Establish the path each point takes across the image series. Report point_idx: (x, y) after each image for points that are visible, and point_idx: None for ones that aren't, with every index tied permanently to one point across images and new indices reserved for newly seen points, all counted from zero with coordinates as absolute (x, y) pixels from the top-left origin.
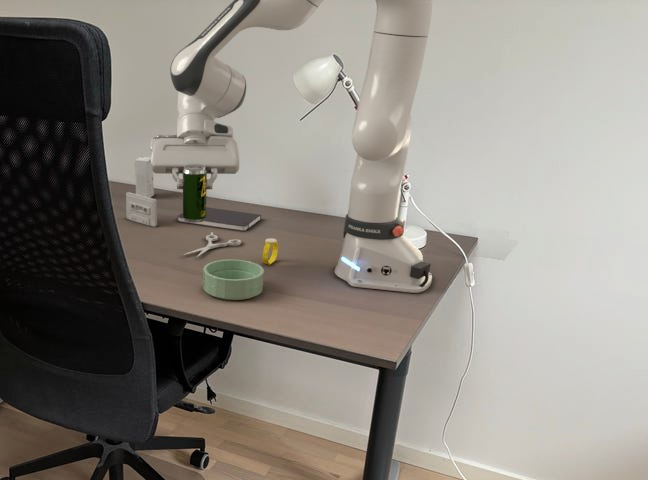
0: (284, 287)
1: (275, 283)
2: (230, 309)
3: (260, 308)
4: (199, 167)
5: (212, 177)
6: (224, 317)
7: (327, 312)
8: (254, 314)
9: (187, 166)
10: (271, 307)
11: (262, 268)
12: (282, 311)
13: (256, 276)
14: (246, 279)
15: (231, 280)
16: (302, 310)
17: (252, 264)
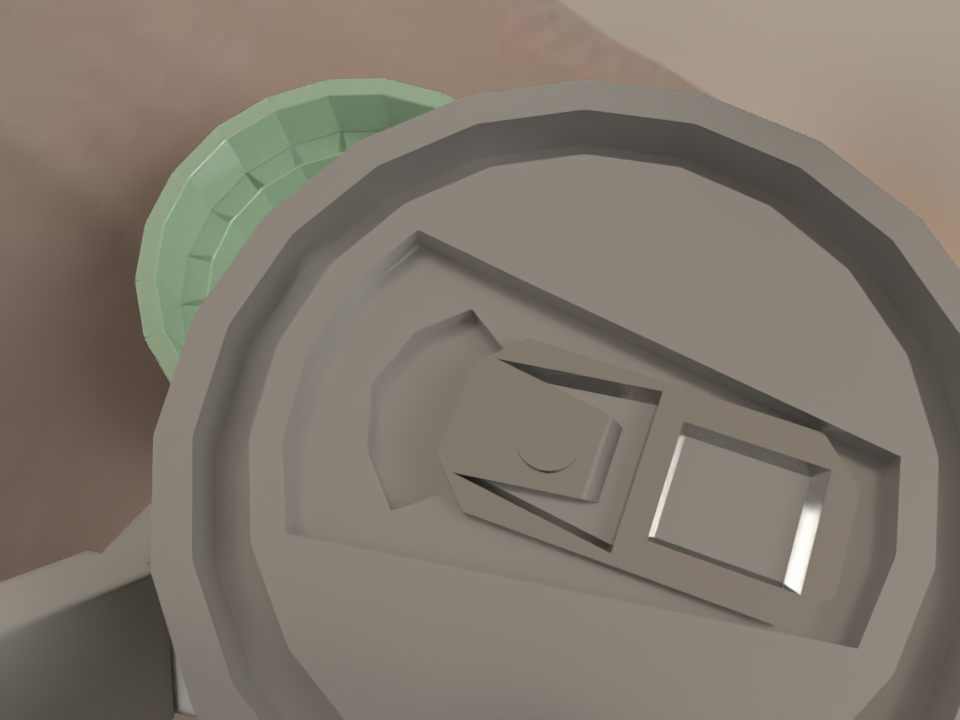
0: (59, 315)
1: (80, 382)
2: (455, 80)
3: (303, 75)
4: (386, 491)
5: (73, 575)
6: (508, 3)
7: (18, 6)
8: (356, 19)
9: (879, 620)
10: (245, 80)
11: (144, 242)
12: (213, 35)
13: (238, 121)
14: (316, 84)
15: (409, 85)
16: (116, 36)
17: (173, 342)
